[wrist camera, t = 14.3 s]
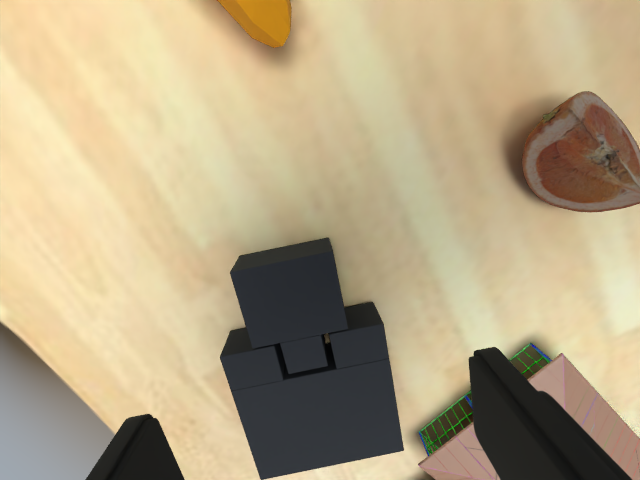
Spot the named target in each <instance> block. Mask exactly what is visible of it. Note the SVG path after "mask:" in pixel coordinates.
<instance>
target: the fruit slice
mask: <svg viewBox="0 0 640 480" xmlns="http://www.w3.org/2000/svg"><path fill="white" fill-rule="evenodd" d="M522 167H523V173H524V176H525V179H526V181H527V184H528V185H529V187H530V188H531V190H532V191H533V192H534V193H535V194H536V195H537V196H538V197H539V198H540V199H542V200H543V201H545V202H547V203H549V204H551V205H554V206H557V207H560V208H564V209H568V210H573V211H579V212H602V211H609V210H615V209H621V208H626V207H630V206H633V205H636V204H640V150H639V147H638V145H637V143H636V141H635V140H634V138H633V137H632V135H631V133H630V132H629V130H628V129H627V127H626V126H625V125H624V123H623V122H622V121H621V120H620V118H619V117H618V116H617V115H616V114H615V113H614V111H613V110H612V109H611V108H610V107H609V106H608V105H607V104H606V103H605V102H604V101H603V100H602V99H601V98H600V97H598V96H597V95H596V94H594V93H592V92H589V91H588V92H581V93H578V94H576V95H574V96H573V97H571V98H570V99H568V100H567V101H566V102H564V103H563V104H561V105H559V106H558V107H557V108H556V109H555V110H553V111H552V112H551V113H549V114H545V115H543V120H542V121H541V122H540V123H539V124H538V125H537V126H536V127H535V128H534V129H533V131H532V132H531V133H530V134H529V136H528V137H527V140H526V144H525V148H524V153H523V157H522Z"/></svg>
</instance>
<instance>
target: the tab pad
mask: <svg viewBox="0 0 640 480" xmlns="http://www.w3.org/2000/svg"><path fill="white" fill-rule="evenodd" d="M230 274H231V278H232V281H233V285H234V288H235V291H236V295H237V298H238V301H239V305H240V308H241V311H242V315H243V318H244V321H245V325H246V328H247V331H248V335H249V338H250V342H251V345H252V348H258V347H263V346H268V345H273V344H277V343H280V345H281V349H282V352H283V356H284V360H285V364H286V367H287V371H288V374H292V373H296V372H301V371H306V370H311V369H316V368H321V367H326V366H328V362H327V354H326V345H325V338H324V334H326V333H331V332H336V331H341V330H345V329H348V325H347V320H346V315H345V310H344V304H343V299H342V294H341V289H340V284H339V279H338V274H337V269H336V264H335V259H334V254H333V250H332V246H331V243H330V240H329V238H324V239H319V240H314V241H309V242H304V243H299V244H294V245H290V246H285V247H280V248H275V249H270V250H265V251H261V252H256V253H251V254H246V255H241V256H239V258H238V260H237V261H236V263H235V265H234V266H233V268H232V270H231V271H230Z"/></svg>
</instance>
